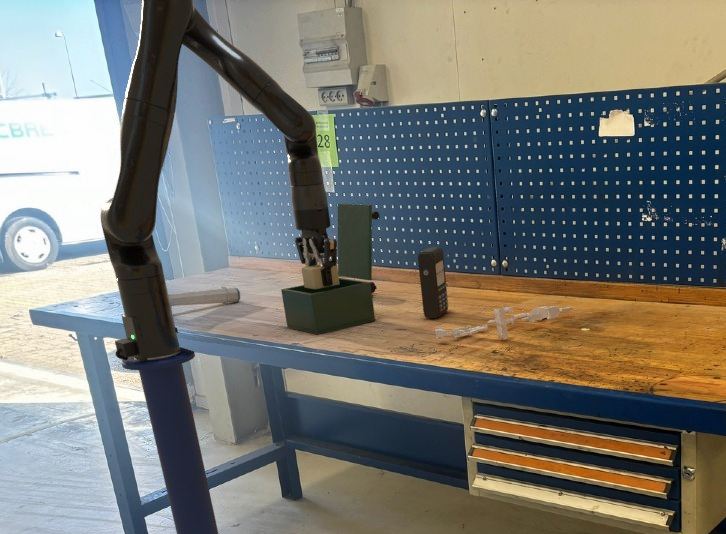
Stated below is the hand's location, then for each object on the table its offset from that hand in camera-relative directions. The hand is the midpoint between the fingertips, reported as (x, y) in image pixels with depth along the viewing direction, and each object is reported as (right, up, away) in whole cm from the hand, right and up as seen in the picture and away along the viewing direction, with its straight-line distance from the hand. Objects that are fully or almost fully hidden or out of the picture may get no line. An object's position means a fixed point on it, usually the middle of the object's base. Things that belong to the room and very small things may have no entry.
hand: (321, 284), depth 191 cm
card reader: (+25, -6, +6) cm, 27 cm away
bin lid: (+6, +10, +3) cm, 13 cm away
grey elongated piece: (+41, -13, -13) cm, 44 cm away
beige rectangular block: (0, 0, 0) cm, 0 cm away
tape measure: (+4, +3, +32) cm, 33 cm away
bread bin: (+1, -8, +4) cm, 9 cm away
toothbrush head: (-40, -1, +29) cm, 49 cm away
